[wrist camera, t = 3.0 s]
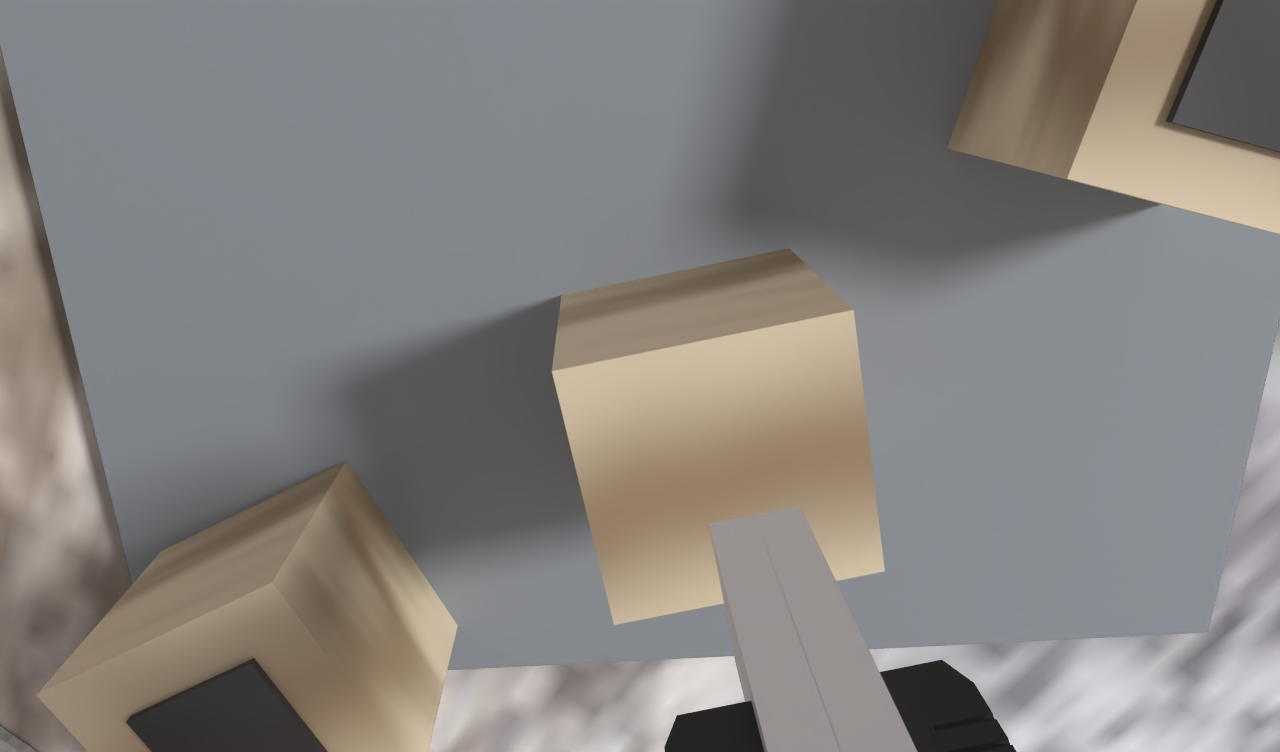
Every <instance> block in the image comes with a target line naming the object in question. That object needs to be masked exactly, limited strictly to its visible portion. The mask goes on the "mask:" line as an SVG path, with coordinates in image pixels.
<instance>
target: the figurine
mask: <svg viewBox="0 0 1280 752" xmlns="http://www.w3.org/2000/svg"><path fill="white" fill-rule="evenodd" d="M0 752H36V751H35V750H34V749H32V748H31V747H30V746H28V745H27V744H25V743H24V742H22V741H21V740H20V739H18V738H17V737H15V736H14V735H12V734H11V733H9V732H8V731H7V730H5V729H4V728H3V727H2V726H1V725H0Z"/></svg>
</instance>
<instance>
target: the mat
mask: <svg viewBox="0 0 1280 752" xmlns="http://www.w3.org/2000/svg"><path fill="white" fill-rule="evenodd" d="M997 3H998V0H0V46H1V51H2V55H3V59H4V63H5V67H6V71H7V75H8V79H9V83H10V87H11V91H12V96H13V100H14V104H15V108H16V112H17V116H18V120H19V124H20V128H21V132H22V136H23V141H24V145H25V149H26V153H27V157H28V161H29V165H30V169H31V173H32V177H33V181H34V185H35V190H36V194H37V198H38V202H39V206H40V210H41V214H42V218H43V222H44V226H45V230H46V235H47V239H48V243H49V247H50V251H51V255H52V259H53V263H54V267H55V271H56V275H57V280H58V284H59V288H60V292H61V296H62V300H63V304H64V308H65V312H66V316H67V320H68V324H69V329H70V333H71V337H72V341H73V345H74V349H75V353H76V357H77V361H78V365H79V369H80V374H81V378H82V382H83V386H84V390H85V394H86V398H87V402H88V406H89V410H90V414H91V419H92V423H93V427H94V431H95V435H96V439H97V443H98V447H99V451H100V455H101V459H102V464H103V468H104V472H105V476H106V480H107V484H108V488H109V492H110V496H111V500H112V504H113V508H114V513H115V517H116V521H117V525H118V529H119V533H120V537H121V541H122V545H123V549H124V553H125V558H126V562H127V566H128V570H129V574H130V578H131V582H132V584H133V583H134V582H135V581H136V580H137V578H138V577H139V576H140V575H141V574H142V573H143V572H144V570H145V569H146V568H147V567H148V566H149V565H150V564H151V562H152V561H153V560H154V559H155V558H156V557H157V556H158V554H159V553H160V552H161V551H163V550H165V549H167V548H169V547H171V546H173V545H175V544H177V543H179V542H181V541H183V540H185V539H187V538H189V537H191V536H193V535H195V534H198V533H200V532H202V531H204V530H206V529H208V528H210V527H212V526H214V525H216V524H218V523H220V522H222V521H224V520H226V519H228V518H230V517H232V516H234V515H236V514H238V513H240V512H243V511H245V510H247V509H249V508H251V507H253V506H255V505H257V504H259V503H261V502H263V501H265V500H267V499H269V498H271V497H273V496H275V495H277V494H279V493H281V492H283V491H286V490H288V489H290V488H292V487H294V486H296V485H298V484H300V483H302V482H304V481H306V480H308V479H310V478H312V477H314V476H316V475H318V474H320V473H322V472H324V471H326V470H329V469H331V468H333V467H335V466H337V465H339V464H341V463H343V462H345V461H347V463H348V464H349V465H350V467H351V468H352V470H353V471H354V473H355V474H356V476H357V477H358V479H359V480H360V482H361V483H362V485H363V486H364V488H365V489H366V491H367V492H368V494H369V495H370V497H371V498H372V499H373V501H374V502H375V504H376V505H377V507H378V508H379V510H380V511H381V513H382V514H383V516H384V517H385V519H386V520H387V522H388V523H389V525H390V526H391V528H392V529H393V531H394V532H395V534H396V535H397V536H398V538H399V539H400V541H401V542H402V544H403V545H404V547H405V548H406V550H407V551H408V553H409V554H410V556H411V557H412V559H413V560H414V562H415V563H416V565H417V566H418V568H419V569H420V570H421V572H422V573H423V575H424V576H425V578H426V579H427V581H428V582H429V584H430V585H431V587H432V588H433V590H434V591H435V593H436V594H437V596H438V597H439V599H440V600H441V602H442V603H443V604H444V606H445V607H446V609H447V610H448V612H449V613H450V615H451V616H452V618H453V619H454V621H455V622H456V624H457V625H458V627H457V631H456V635H455V639H454V643H453V648H452V652H451V656H450V660H449V665H448V669H447V670H459V669H479V668H499V667H519V666H539V665H560V664H580V663H600V662H620V661H640V660H661V659H681V658H701V657H721V656H734V651H733V646H732V641H731V636H730V631H729V626H728V621H727V616H726V611H725V605H724V603H723V604H718V605H713V606H708V607H703V608H698V609H693V610H688V611H683V612H678V613H673V614H668V615H663V616H658V617H653V618H648V619H643V620H638V621H632V622H627V623H622V624H617V625H614V623H613V619H612V614H611V610H610V606H609V602H608V598H607V594H606V590H605V586H604V582H603V578H602V574H601V570H600V566H599V562H598V558H597V553H596V549H595V545H594V541H593V537H592V533H591V529H590V525H589V521H588V517H587V513H586V509H585V505H584V501H583V497H582V492H581V488H580V484H579V480H578V476H577V472H576V468H575V464H574V460H573V456H572V452H571V448H570V444H569V440H568V435H567V431H566V427H565V423H564V419H563V415H562V411H561V407H560V403H559V399H558V395H557V391H556V387H555V383H554V379H553V374H552V365H553V357H554V350H555V342H556V334H557V326H558V318H559V310H560V303H561V295H564V294H568V293H573V292H578V291H583V290H588V289H593V288H598V287H603V286H607V285H612V284H617V283H622V282H627V281H632V280H637V279H642V278H646V277H651V276H656V275H661V274H666V273H671V272H676V271H680V270H685V269H690V268H695V267H700V266H705V265H710V264H715V263H719V262H724V261H729V260H734V259H739V258H744V257H749V256H753V255H758V254H763V253H768V252H773V251H778V250H783V249H788V248H790V249H791V250H792V251H793V252H794V253H795V254H796V255H797V256H798V257H799V258H800V259H801V260H802V261H803V262H804V263H805V264H806V265H808V266H809V267H810V268H811V269H812V270H813V271H814V272H815V273H816V274H817V275H818V276H819V277H820V278H821V279H822V280H823V281H824V282H825V283H826V284H827V285H828V286H829V287H830V288H832V289H833V290H834V291H835V292H836V293H837V294H838V295H839V296H840V297H841V298H842V299H843V300H844V301H845V302H846V303H847V304H848V305H849V306H850V307H851V308H852V309H853V310H854V316H855V325H856V333H857V341H858V350H859V358H860V367H861V375H862V383H863V392H864V400H865V409H866V417H867V425H868V434H869V442H870V451H871V459H872V467H873V476H874V484H875V493H876V501H877V509H878V518H879V526H880V534H881V543H882V551H883V560H884V568H885V571H884V572H879V573H874V574H869V575H864V576H859V577H854V578H849V579H844V580H839V581H836V582H837V584H838V586H839V588H840V590H841V592H842V594H843V597H844V599H845V601H846V603H847V605H848V607H849V609H850V611H851V613H852V615H853V618H854V620H855V622H856V624H857V626H858V628H859V630H860V632H861V634H862V636H863V639H864V641H865V643H866V645H867V647H868V649H883V648H903V647H923V646H943V645H964V644H984V643H1004V642H1024V641H1044V640H1065V639H1085V638H1105V637H1125V636H1145V635H1166V634H1186V633H1206V632H1208V631H1209V627H1210V622H1211V618H1212V614H1213V609H1214V605H1215V601H1216V596H1217V592H1218V587H1219V583H1220V579H1221V574H1222V570H1223V565H1224V561H1225V557H1226V552H1227V548H1228V544H1229V539H1230V535H1231V530H1232V526H1233V522H1234V517H1235V513H1236V508H1237V504H1238V500H1239V495H1240V491H1241V487H1242V482H1243V478H1244V473H1245V469H1246V465H1247V460H1248V456H1249V452H1250V447H1251V443H1252V438H1253V434H1254V430H1255V425H1256V421H1257V416H1258V412H1259V408H1260V403H1261V399H1262V395H1263V390H1264V386H1265V381H1266V377H1267V373H1268V368H1269V364H1270V360H1271V355H1272V351H1273V346H1274V342H1275V338H1276V333H1277V329H1278V324H1279V320H1280V234H1277V233H1273V232H1269V231H1265V230H1261V229H1257V228H1253V227H1249V226H1245V225H1241V224H1237V223H1233V222H1230V221H1226V220H1222V219H1218V218H1214V217H1210V216H1206V215H1202V214H1198V213H1194V212H1190V211H1187V210H1183V209H1179V208H1175V207H1171V206H1167V205H1163V204H1159V203H1155V202H1151V201H1148V200H1144V199H1140V198H1136V197H1132V196H1128V195H1125V194H1121V193H1117V192H1113V191H1109V190H1105V189H1102V188H1098V187H1094V186H1090V185H1086V184H1082V183H1078V182H1075V181H1071V180H1067V179H1063V178H1059V177H1055V176H1052V175H1048V174H1044V173H1040V172H1036V171H1032V170H1028V169H1025V168H1021V167H1017V166H1013V165H1009V164H1005V163H1002V162H998V161H994V160H990V159H986V158H982V157H978V156H975V155H971V154H967V153H963V152H959V151H955V150H952V149H948V148H947V147H948V144H949V141H950V138H951V136H952V133H953V130H954V127H955V124H956V121H957V118H958V115H959V112H960V110H961V107H962V104H963V101H964V98H965V95H966V92H967V89H968V87H969V84H970V81H971V78H972V75H973V72H974V69H975V66H976V63H977V61H978V58H979V55H980V52H981V49H982V46H983V43H984V40H985V38H986V35H987V32H988V29H989V26H990V23H991V20H992V17H993V14H994V12H995V9H996V6H997Z"/></svg>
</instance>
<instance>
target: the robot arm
mask: <svg viewBox="0 0 1280 752" xmlns="http://www.w3.org/2000/svg"><path fill="white" fill-rule="evenodd" d="M709 529H710V534H711V539H712V544H713V549H714V554H715V559H716V565H717V570H718V575H719V580H720V585H721V590H722V595H723V600H724V605H725V611H726V616H727V621H728V626H729V631H730V636H731V641H732V646H733V651H734V656H735V662H736V666H737V670H738V674H739V678H740V682H741V686H742V690H743V694H744V699H745V702H742V703H737V704H732V705H727V706H722V707H717V708H712V709H707V710H702V711H697V712H692V713H687V714H682V715H677V717H676V719H675V722H674V724H673V727H672V730H671V732H670V735H669V737H668V740H667V742H666V745H665V752H1016V750H1015V749H1014V747H1013V745H1010V743H1009V740H1008V737H1007V736H1006V734H1005V733H1004V731H1003V729H1002V728H1001V726H1000V724H999V723H998V721H997V720H996V719H994V717H993V713H992V712H991V710H990V708H989V707H988V705H987V704H986V702H985V700H984V699H983V697H982V695H981V694H980V692H979V691H978V689H977V687H976V686H975V684H974V683H973V682H972V681H970V680H969V679H968V678H966V677H965V676H964V675H962V674H961V673H959V672H958V671H957V670H955V669H954V668H952V667H951V666H950V665H948V664H947V663H945V662H944V661H943V660H938V661H933V662H928V663H923V664H919V665H914V666H909V667H904V668H899V669H894V670H889V671H884V672H879V670H878V668H877V666H876V664H875V662H874V660H873V657H872V655H871V653H870V651H869V649H868V647H867V645H866V643H865V641H864V639H863V636H862V634H861V632H860V630H859V628H858V626H857V624H856V622H855V620H854V618H853V615H852V613H851V611H850V609H849V607H848V605H847V603H846V601H845V599H844V597H843V594H842V592H841V590H840V588H839V586H838V584H837V582H836V580H835V578H834V576H833V574H832V571H831V569H830V567H829V565H828V563H827V561H826V559H825V557H824V555H823V553H822V550H821V548H820V546H819V544H818V542H817V540H816V538H815V536H814V534H813V532H812V529H811V527H810V525H809V523H808V521H807V519H806V517H805V515H804V513H803V511H802V508H801V506H796V507H791V508H786V509H781V510H776V511H771V512H766V513H761V514H756V515H751V516H746V517H742V518H737V519H732V520H727V521H722V522H717V523H712V524H709Z"/></svg>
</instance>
